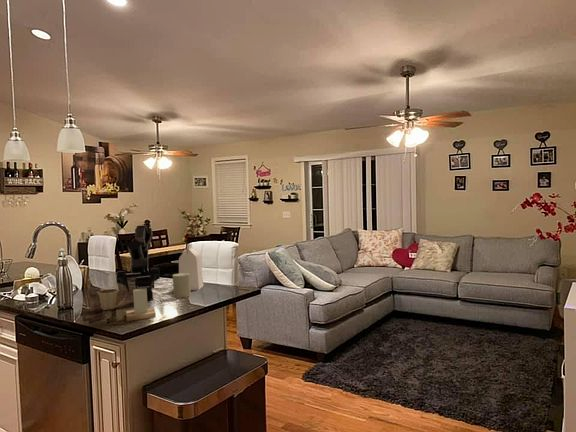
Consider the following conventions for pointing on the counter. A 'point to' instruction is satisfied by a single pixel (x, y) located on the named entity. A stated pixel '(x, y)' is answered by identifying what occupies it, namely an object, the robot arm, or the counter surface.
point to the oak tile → (140, 314)
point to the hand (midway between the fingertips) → (139, 290)
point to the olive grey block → (181, 285)
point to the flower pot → (108, 298)
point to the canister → (140, 300)
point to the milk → (192, 267)
